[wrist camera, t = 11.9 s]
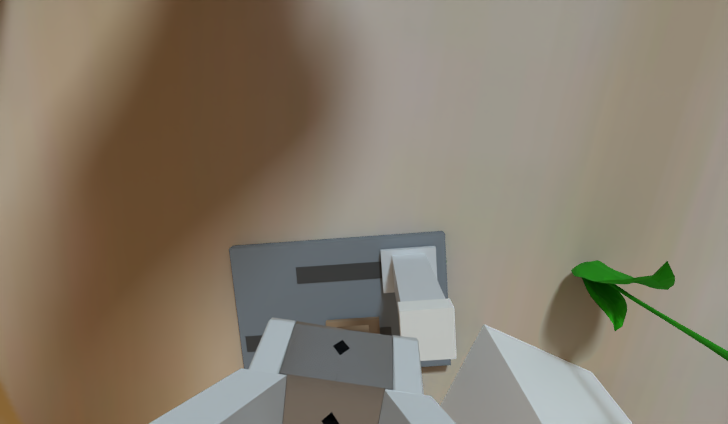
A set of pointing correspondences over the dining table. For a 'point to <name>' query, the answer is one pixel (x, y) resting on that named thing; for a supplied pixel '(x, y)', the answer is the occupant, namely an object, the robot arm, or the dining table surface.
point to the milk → (525, 387)
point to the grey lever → (420, 300)
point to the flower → (614, 305)
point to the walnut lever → (357, 324)
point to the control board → (321, 283)
